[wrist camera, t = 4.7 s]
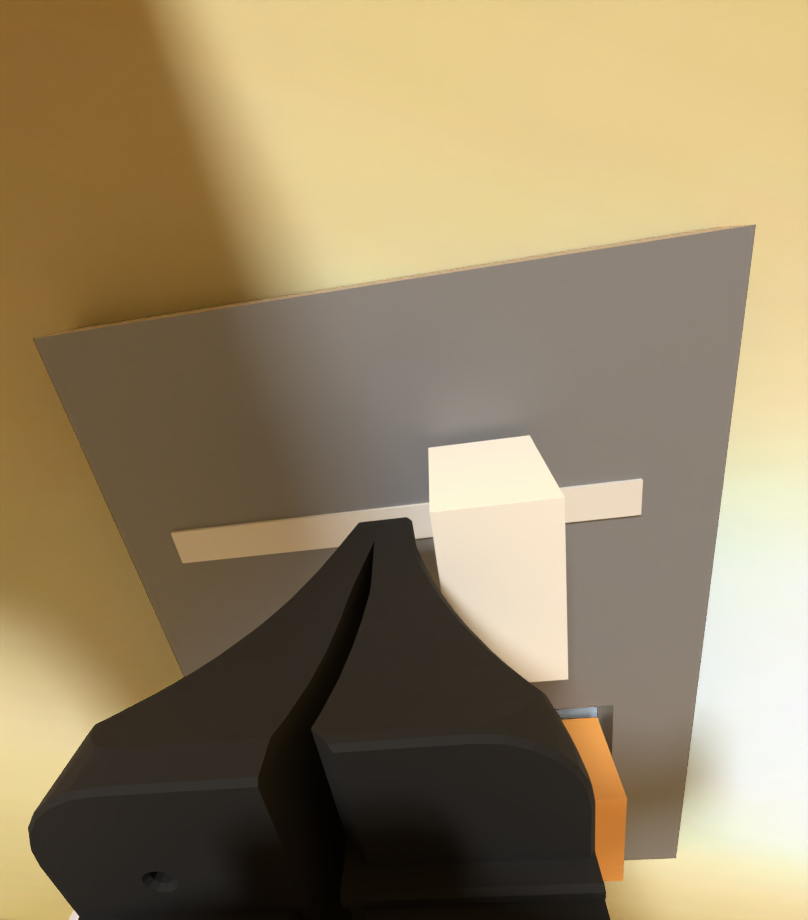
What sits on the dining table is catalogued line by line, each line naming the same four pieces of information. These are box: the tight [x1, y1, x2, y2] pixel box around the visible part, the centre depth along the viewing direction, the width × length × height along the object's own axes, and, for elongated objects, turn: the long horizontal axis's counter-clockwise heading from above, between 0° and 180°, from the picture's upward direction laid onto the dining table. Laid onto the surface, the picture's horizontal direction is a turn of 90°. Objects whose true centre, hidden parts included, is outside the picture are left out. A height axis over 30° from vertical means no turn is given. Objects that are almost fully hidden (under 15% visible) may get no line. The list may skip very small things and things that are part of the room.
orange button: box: [562, 717, 627, 881], centre depth 15 cm, size 4×4×2 cm
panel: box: [33, 225, 756, 860], centre depth 15 cm, size 22×16×2 cm
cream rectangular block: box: [428, 435, 568, 682], centre depth 11 cm, size 4×2×3 cm, turn 8°
